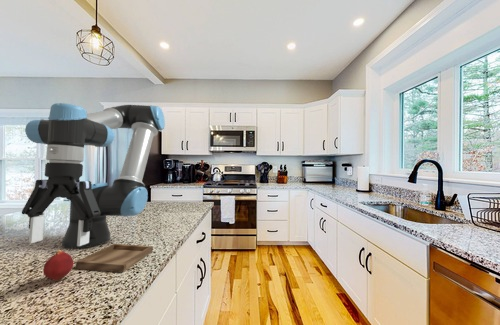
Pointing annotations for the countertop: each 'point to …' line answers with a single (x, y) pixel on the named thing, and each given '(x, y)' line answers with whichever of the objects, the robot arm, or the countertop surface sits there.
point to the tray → (115, 258)
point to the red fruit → (58, 266)
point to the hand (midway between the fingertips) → (59, 243)
